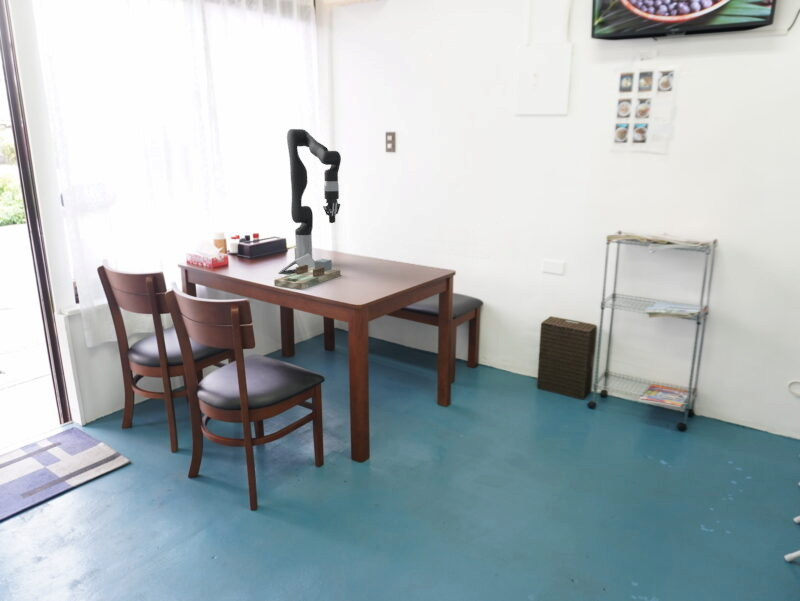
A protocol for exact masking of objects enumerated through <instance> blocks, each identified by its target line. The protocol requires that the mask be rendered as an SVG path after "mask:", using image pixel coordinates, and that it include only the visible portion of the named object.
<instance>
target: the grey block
mask: <svg viewBox="0 0 800 601" xmlns="http://www.w3.org/2000/svg"><path fill="white" fill-rule="evenodd" d="M314 261H315V269H316V268H320V267H324V271H327V270H330V269H333V268H332V267H333V265H332V259H328V258H327V259H326V258H321V259H317V260H314Z"/></svg>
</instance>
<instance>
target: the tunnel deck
mask: <svg viewBox="0 0 800 601" xmlns="http://www.w3.org/2000/svg"><path fill="white" fill-rule="evenodd" d="M341 272H342V271H341V269H338V268H332V269H330V270H327V271H324V267H320V268H316V269H315V267H313V268H310V269H308V265H303V266H297V267H295V273H291V274H287V275H284V276H281V277H278V278H274V282H273V283H274V287H275V286H276V287H281V288H289V289H296V290H303V289H306V288H309V287H312V286H314V285H318V284H319V283H323V282H326V281H329V280H330V279H335V278H337V277H339V276H342V274H341Z"/></svg>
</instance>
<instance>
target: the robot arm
mask: <svg viewBox="0 0 800 601" xmlns="http://www.w3.org/2000/svg"><path fill="white" fill-rule="evenodd" d="M286 140H287V142H286V143H287V148H288V155H289V166H290V167H289V169H290V170H289V171H290V173H289V174H290V183H291V209H290V210H291V218H292V221H293V222H294V223H295V224H300V225H299V227H297V228H296V229H295V233H294V236H295V247H294V261H295V260H296V259H298V258H300V257H302V256H304V255H306V254H310V256H311V257H312V258H313V240H312V238H313V237H312V236H313V235H312V231H313V223H314V218H313V216H314V215H313V214H314V213H313V210H312V208H311V207H310V206H308V205H303V206H302V198H303V196H304V192H305V191H306V188H307V186H308V171H307V167H306V166H305V165H304V163H303V160H302V159H301V157H300V155H299V152H298V147H305V148H308V150H309V152H310V153H311V154H312V155H313V156H314V157H316V158H318V160H319V161H320V162H321V164H323V165H327V166H330V168H327V169H325V170H324V175H323V176H324V184H323V185H324V186H323V187H324V188H323V190H324V199H325V200H326V202H325V205H322V207H323V210H324V213H325V215H326V216H328V220H329V221H328V222H329V223H330V224H333V223H336V216H337V214H338V213H339V211H340V207H341V203H338V200H339V199H340V195H339V194H340V192H339V191H340V190H339V186H340V185H339V170H340V166H341V161H342V157H341V156H342V155H341V154H340V152H339V151H337V150H329V149H328V148H327V147H326V146H325V145H323V144H322V143H320V142H319V141H318V140H316V138H314V137H313V136H312V135H311V134H310V133H309V132H308V131H307V130H305V129H304V128H303V129H302V128H301V129H300V128H299V129H297V128H291V129H289V130H288V131H287V134H286ZM295 265H297V263H296V264H295Z"/></svg>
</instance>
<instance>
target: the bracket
mask: <svg viewBox="0 0 800 601" xmlns="http://www.w3.org/2000/svg"><path fill="white" fill-rule="evenodd" d="M315 261H316V260H315V259H314V257H313V256H312V257H311V256H310V254H306V255H304V256H302V257H300V258H298V259H296V260H295V259H294V260H293V261H292V262H290V263H289V264H288V265H286V266H285V267H283V269H281V270H280V271H278V274H279V275H280V274H281V273H284V272H285V271H287V270H288V269H290V268H291V267H293V266H294V265H297V267H299V266H303V265H308V269H310V268H313V267H315ZM296 263H297V264H296Z"/></svg>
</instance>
